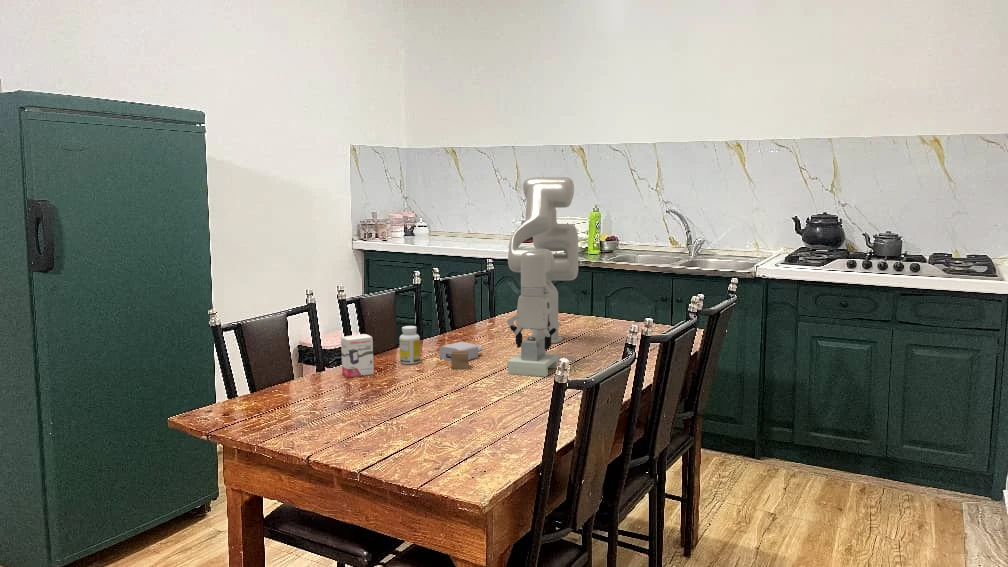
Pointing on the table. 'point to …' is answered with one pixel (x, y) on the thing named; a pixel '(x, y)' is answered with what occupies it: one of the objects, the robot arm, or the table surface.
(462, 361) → the walnut block
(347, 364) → the white product box
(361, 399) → the table surface
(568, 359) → the grey disc
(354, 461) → the table surface
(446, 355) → the charger
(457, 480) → the table surface
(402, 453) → the table surface
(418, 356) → the pill bottle
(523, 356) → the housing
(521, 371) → the stand
